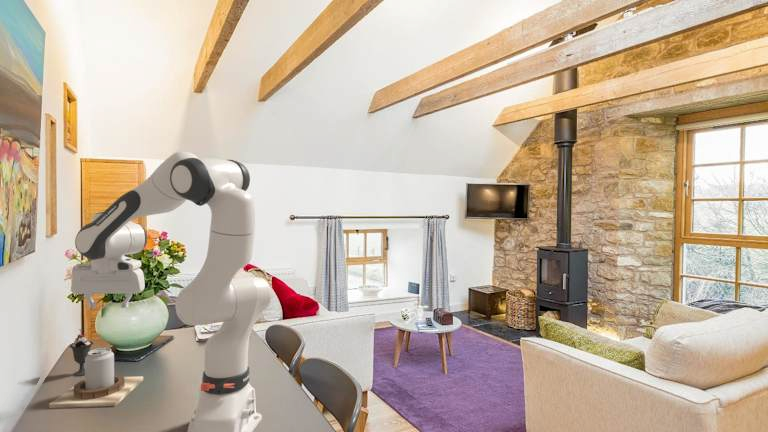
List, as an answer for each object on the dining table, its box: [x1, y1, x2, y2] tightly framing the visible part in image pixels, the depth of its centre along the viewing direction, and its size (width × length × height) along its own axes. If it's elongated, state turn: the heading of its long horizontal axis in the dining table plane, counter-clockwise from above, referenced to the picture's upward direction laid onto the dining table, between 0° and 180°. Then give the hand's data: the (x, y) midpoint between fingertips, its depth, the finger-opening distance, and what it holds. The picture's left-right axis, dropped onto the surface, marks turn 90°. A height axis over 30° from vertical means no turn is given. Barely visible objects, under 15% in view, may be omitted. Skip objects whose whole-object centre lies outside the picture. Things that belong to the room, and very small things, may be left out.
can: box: [84, 347, 115, 390], centre depth 135 cm, size 8×8×12 cm
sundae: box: [69, 328, 94, 377], centre depth 149 cm, size 7×7×15 cm
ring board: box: [48, 373, 144, 409], centre depth 135 cm, size 18×18×3 cm
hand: (108, 307), depth 136 cm, fingers open, 8 cm apart
